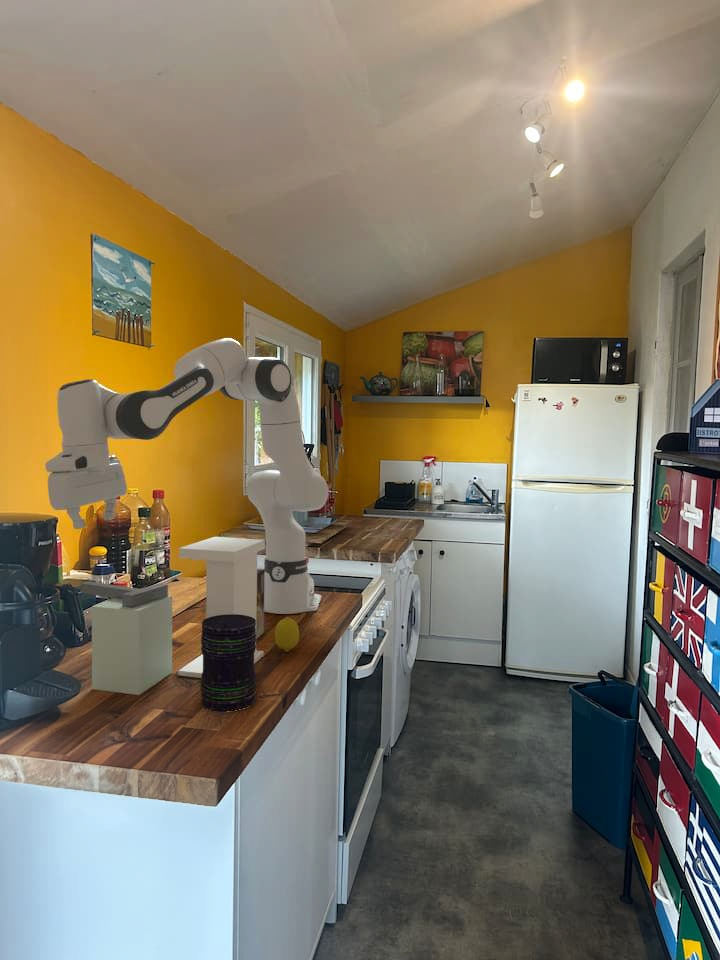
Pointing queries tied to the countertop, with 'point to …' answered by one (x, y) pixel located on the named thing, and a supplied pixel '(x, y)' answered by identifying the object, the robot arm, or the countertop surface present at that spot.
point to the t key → (126, 593)
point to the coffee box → (260, 603)
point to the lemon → (287, 634)
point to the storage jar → (228, 662)
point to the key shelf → (226, 582)
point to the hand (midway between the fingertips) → (95, 523)
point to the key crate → (131, 645)
